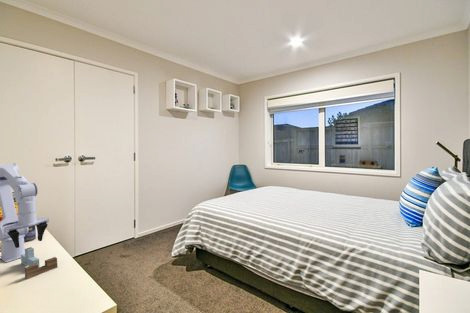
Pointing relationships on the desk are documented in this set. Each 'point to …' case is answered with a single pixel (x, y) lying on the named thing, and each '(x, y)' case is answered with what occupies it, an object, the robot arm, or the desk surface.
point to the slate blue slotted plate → (29, 257)
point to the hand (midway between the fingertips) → (28, 243)
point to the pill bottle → (30, 234)
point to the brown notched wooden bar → (40, 268)
